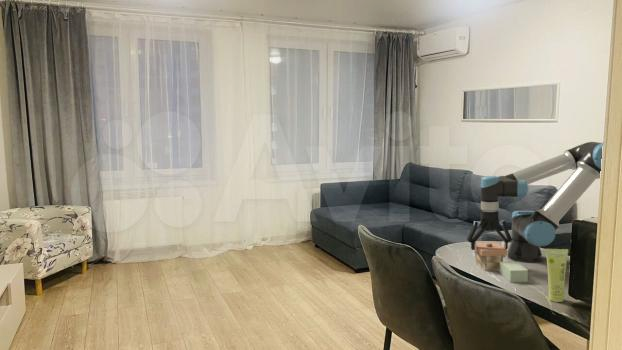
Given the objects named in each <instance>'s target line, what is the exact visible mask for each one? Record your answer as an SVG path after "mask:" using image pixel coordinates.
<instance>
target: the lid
mask: <svg viewBox="0 0 622 350" xmlns="http://www.w3.org/2000/svg"><path fill="white" fill-rule="evenodd" d="M476 243H477V252H478V253H479V254H480V255H481V256H507V257H508V249H505V248H503V247H502V244H499V243H498V242H497V241H495V242H493V241H492V242H476Z"/></svg>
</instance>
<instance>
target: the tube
mask: <svg viewBox="0 0 622 350" xmlns="http://www.w3.org/2000/svg"><path fill="white" fill-rule="evenodd" d="M544 250H545V256H546V264H547V281H548V283H547V284H548V287H547V288H548V300H549V301H551V302H555V303H562V302H564V299H565V285H566V284H565V283H566V282H565V281H566V272H567V271H566V270H567V261H568V254H569V249H568V248H566V249H564V248H561V249H560V248H545V249H544Z"/></svg>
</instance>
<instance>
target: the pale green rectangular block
mask: <svg viewBox="0 0 622 350" xmlns="http://www.w3.org/2000/svg"><path fill="white" fill-rule="evenodd" d="M528 273H529V270H528V269H527V268H526V267H525V266H523V265H522V264H520V263H519V262H518V261H516V260H513V261H503V262H500V271H499V274H500V275H502V276H503V278H505V280H507V281H508V282H509V283H528V282H529V279H528V277H529V276H528V275H529V274H528Z"/></svg>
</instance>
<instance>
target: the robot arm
mask: <svg viewBox="0 0 622 350" xmlns="http://www.w3.org/2000/svg"><path fill="white" fill-rule="evenodd" d="M603 143H604V142H595V141H589V142H585V143H582V144H579V145H576V146H574V147H572V148H569V149H566V150H564V152H563V154H562V153H561V154H559V155H556V156H554V157H552V158H549V159H546V160H543V161H541V162H539V163H536V164H533V165H530V166H527V167H525V168H522V169H520V170H517V171H515V172H511V173H508V174H506V175H500V176H496V175H486V176H485V175H484V176H482V177H481V179H480V220H479V221H478V220H477V221H476V220H474V221H473V223H472V224H473V225H472V227H471V229H470V231H469V234H468V236H467V238H466V241H467V242H468V243H470V249H471V251H472V257H474V258H475V259H476V257H477V243H478V242H477V241H478V240H479V238H480V237H481V236H482V235H483V233H485V232H490V231H492V232H494V231H495V232H496V233H497V234H498V235H499V237H500V238H501V239H502V240H503V241H502V240H501V246H502V247H503V248H505V249H506V250H507V258H508V259H510V260H512V261H516V262H523V263H538V262H540V261H542V259H543V254H542V250H541V248H540V247H545V246H548V245H550V244H551V243H552V242H553V241H554V240H555V238H556V231H557V230H558V228H559V227H560V223H559V222H560V221H561V219H562V218H563V217H564V216H565V215H566V214H567V212H569V210H570V209H571V208H572V207H573V205H575V203H577V201H578V200H579V199H580V198H581V197H582V195H583V194H584V193H585V192H586V191H587V190H588V189H589V187H591V185H592V184H593V183H594V182H596V180H597V179H599V180H600V179H601V178H600V171H601V159H602V146H603ZM568 170H572V171H573V172H572V173H571V174H570V176H569V177H568V178H567V179H566V180H565V181H564V182H563V183H562V185H561V186H560V187H559V188H558V189H557V190H556V192H555V193H554V194H553V195H552V197H551V198H550V199H548V201H547V202H546V203H545V205H544V206H543V207H542V208H541V209H536V210H514V211H513V212H512V213H511V234H510V232H509V229H508V227H507V224H506V223H507V221H505V220H504V219H502V220H500V219H499V209H500V208H499V207H500V206H499V202H500V201H499V200H500V198H522V197H523V198H524V197H526V196H527V195H528V191H529V188H528V185H529V184H533V183H535V182H538V181H541V180H543V179H546V178H550V177H552V176H554V175H557V174H560V173H562V172H565V171H568ZM499 225H500V226H501V227H502V230H503V232H501V230H500V229H499ZM479 226H480V227H479ZM478 227H479V229H478ZM477 229H478V230H477ZM476 231H477V232H476ZM503 233H504V234H505V235H504V234H503ZM505 236H506V237H505ZM509 242H510V244H509ZM508 245H509V247H508ZM503 258H506V256H503Z"/></svg>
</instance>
